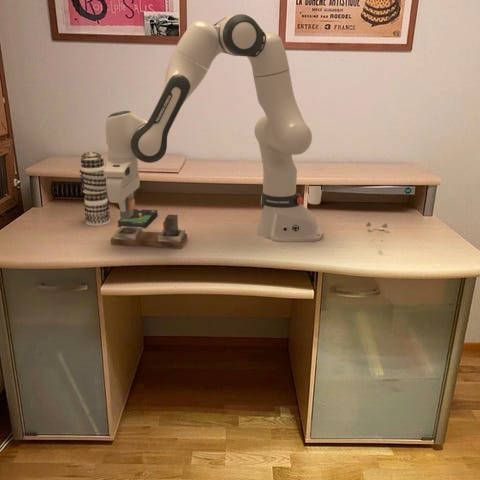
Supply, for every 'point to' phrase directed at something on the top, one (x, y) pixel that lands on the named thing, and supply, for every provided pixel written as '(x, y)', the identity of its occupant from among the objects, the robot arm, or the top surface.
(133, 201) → the grey orange block
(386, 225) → the diorama
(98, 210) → the decorative candle
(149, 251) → the top surface
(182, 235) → the wooden holder stand
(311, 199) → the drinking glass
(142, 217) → the disk drive
